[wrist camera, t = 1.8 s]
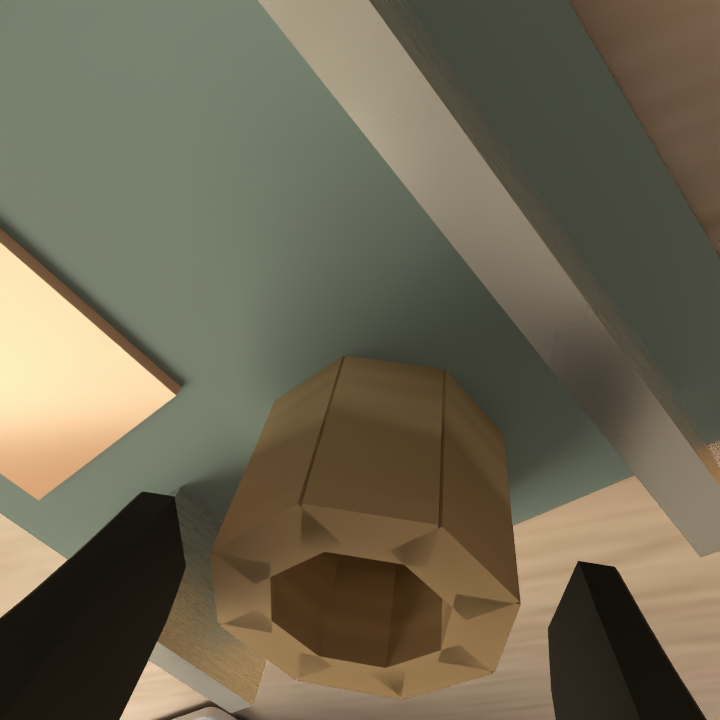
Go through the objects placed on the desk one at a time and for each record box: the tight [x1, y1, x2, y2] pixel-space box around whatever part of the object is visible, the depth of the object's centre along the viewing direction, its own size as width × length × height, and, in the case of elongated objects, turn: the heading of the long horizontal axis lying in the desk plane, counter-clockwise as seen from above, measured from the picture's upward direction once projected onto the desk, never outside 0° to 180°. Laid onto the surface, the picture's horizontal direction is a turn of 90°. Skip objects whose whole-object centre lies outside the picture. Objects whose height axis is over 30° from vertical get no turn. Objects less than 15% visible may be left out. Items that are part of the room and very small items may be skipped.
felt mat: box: [0, 0, 720, 559], centre depth 12 cm, size 18×18×1 cm
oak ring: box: [210, 355, 521, 699], centre depth 11 cm, size 5×5×4 cm
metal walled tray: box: [149, 0, 720, 713], centre depth 10 cm, size 15×15×4 cm
